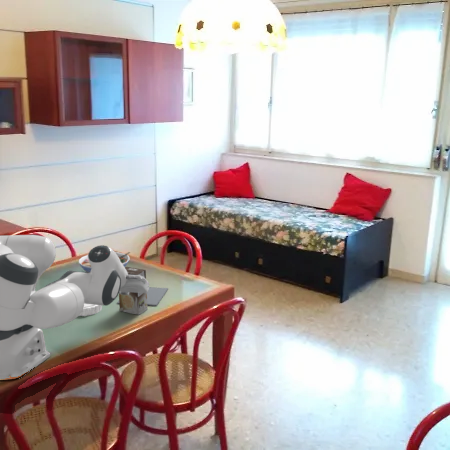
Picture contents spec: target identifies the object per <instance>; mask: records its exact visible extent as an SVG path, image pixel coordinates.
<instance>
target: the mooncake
mask: <svg viewBox="0 0 450 450" xmlns="http://www.w3.org/2000/svg"><path fill="white" fill-rule="evenodd" d="M102 309H103V305H94V304H85V303H84V307H83V310H82V312H81V313H80V315H79V316H78V317H81V316H82V317H86V316H91V315H95V314H98V313H99V312H101V311H102Z"/></svg>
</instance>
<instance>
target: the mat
mask: <svg viewBox="0 0 450 450" xmlns="http://www.w3.org/2000/svg"><path fill="white" fill-rule="evenodd" d="M168 290H169V288H168V287H157V286H156V287H152V286H149V290H148V292H147V307H148V306H149V307H158V305H160V303H161V301H162V299H163V298H164V297H165V295H166V293H167V292H168ZM116 304H117V305H119V300H118V301H117V303H116Z"/></svg>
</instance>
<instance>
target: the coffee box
mask: <svg viewBox="0 0 450 450" xmlns="http://www.w3.org/2000/svg"><path fill="white" fill-rule="evenodd" d="M125 269H126V271H127V272H128V275H140V276H143V277H144V278H145V279H146V280H147V271H146V269H143V268H137V267H130V266H125ZM118 301H119V304H118V305H119V312H121V313H122V312H124V313H129V314H133V315H138V316H139V315H141V314H143V313H144V312H146V311H147V310H148V306H147V293H134V292H129V295H121V294H120V293H119V294H118Z"/></svg>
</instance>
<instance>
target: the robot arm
mask: <svg viewBox="0 0 450 450" xmlns="http://www.w3.org/2000/svg"><path fill="white" fill-rule="evenodd" d="M115 252H116V251H114V249H113V248H111V247H110V246H108V245H105V244H104V245H103V244H102V245H97V246H94V247H93V248H92V249H90V250H89V252H88V253H87V255H88V260H89V263H90V265H91V267H92V269H91V271H90V273H88V272H83V271H76V270H67V271H65V273H63V274H62V276H60V278H58V279H57V280H54V281H52V282H50V283H47V284H46V285H45V286H43V287H41V288H40V289H37V286H36V285H37V283H38V281H39V279H40V277H41V276H42V274H43V273H45V271H46V270H48V269H49V268H50V267H52V265H53V264H54V263H55V259H56V257H57V250H56V246H55V244H54V242H53V241H52V239H51V238H50V237H48V236H43V235H36V234H19V235H18V234H16V235H15V234H12V235H0V379H5V378H10V377H9V376H11V377H18V376H21V375H22V374H24V373H26V372H28V371H29V372H30V370H31V369H32V370H34V369H35V368H36V367H37V366H39V365H40V364H41V363H43V362H44V361H46V360H47V359H48V358H50V357H51V353H50V351H48V350H47V346H46V342H45V336H44V331H43V330H44V329H45V330H46V329H53V328H57V327H60V326H64V325H66V324H68V323H70V322H73V321H74V320H75V319H77V318H78V317H80V316H79V315H80V313H81V312H82V310H83V307H84V303H85V304H94V305H102V306H109V305H111V304H112V303H113V302H114V301H115V300H116V299H117V298H118V297H119V293H120V294H121V295H129V292H134V293H147V292H148V290H149V287H150V282H149V281H148V279H147V278H146V279H145V278H144V277H143V276H140V275H128V272H127V271H126V269H125V267H126V266H125V267H124V266H123V264H122V263H121V262H120V259H119V257H118V256H117V254H116V253H115ZM36 289H37V290H36ZM34 367H35V368H34ZM33 368H34V369H33ZM32 370H31V371H32ZM29 372H28V373H29Z"/></svg>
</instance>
